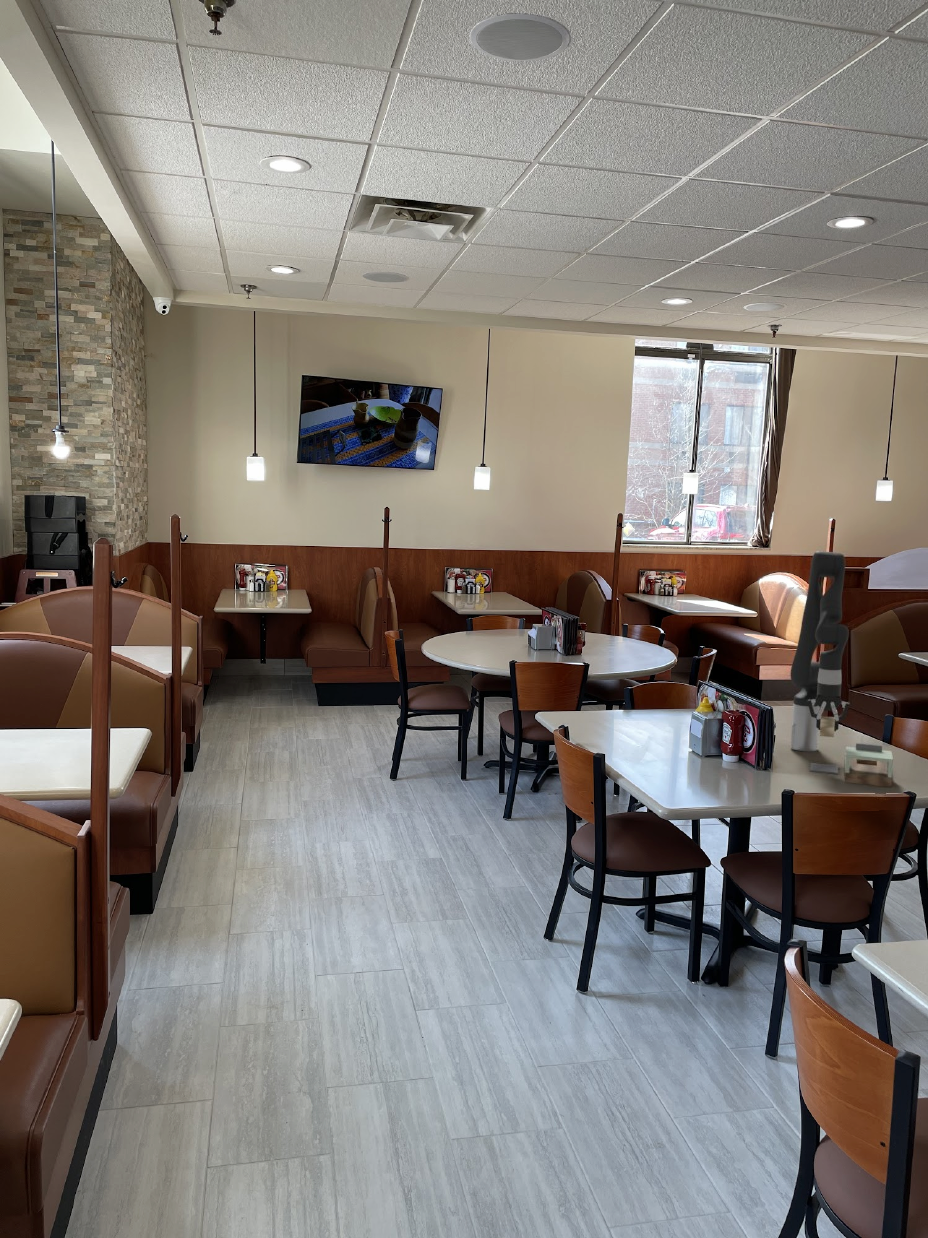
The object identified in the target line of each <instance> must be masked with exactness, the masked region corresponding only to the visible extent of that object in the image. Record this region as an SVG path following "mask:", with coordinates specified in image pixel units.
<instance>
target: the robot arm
mask: <svg viewBox="0 0 928 1238" xmlns="http://www.w3.org/2000/svg"><path fill="white" fill-rule="evenodd" d="M845 572H846V557H845V555H844V554H842V553H841V552H832V551H825V550H823V551H821V550H817V551H815V552H814V553H813V555H812V559H811V564H810V572H809V579H808V589H807V593H806V600H805V605H804V609H803V615H802V618H801V626H800V632H799V637H798V641H797V646H796V650H795V655H794V657H793V660H792V664H791V668H790V673H789V674H790V679H791V682H792V684H793V685H794V686H795V687H798V688H801V690H800V691H799V692H797V693H796V694H795V695H794V696H793V707H792V723H791V738H790V740H791V741H790V749H791V750H795V751H800V752H816V751H818V740H819V737H818V736H819V731H820V722H821V716H822V715H823V713H824V712H827V711H829V712H832V713H833V717H835V726H834V732H837V731H838V730H839V728H840V727H839V726H840V725H839V722H840V721H844V720H845V718H846V716H847V713H848V711H849V708H850V702H849V701H843V700H842V697H841V696H842V695H841V694H842V681H843V680H842V663H843V655H844V650H845V647H846V644H847V642H848V639H849V636H850V632H849V628H848V627H847V625H845V624H841V623H840V622H841V621H842V619H843V605H842V604H843V602H842V601H843V599H842V597H843V589H844V581H845ZM820 578H830V579H833V582H832V584H831V585H830V587H828V589H827V590H826V591H825V592H824V593H823V592H822V590H821V586H820ZM820 644H821V645H832V646H833V645H834V646H835V645H836V647H834V648H833V649H831V650H825V651H821V652H820V654H819V662H818V661H812V660H813V656H814V654H815V651H816V649H817V648H818V647H819V645H820ZM841 705H842V706H841ZM840 706H841V707H842V708H843V709H842V712H841V714H840V715H839V714H838V708H839V707H840Z"/></svg>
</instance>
